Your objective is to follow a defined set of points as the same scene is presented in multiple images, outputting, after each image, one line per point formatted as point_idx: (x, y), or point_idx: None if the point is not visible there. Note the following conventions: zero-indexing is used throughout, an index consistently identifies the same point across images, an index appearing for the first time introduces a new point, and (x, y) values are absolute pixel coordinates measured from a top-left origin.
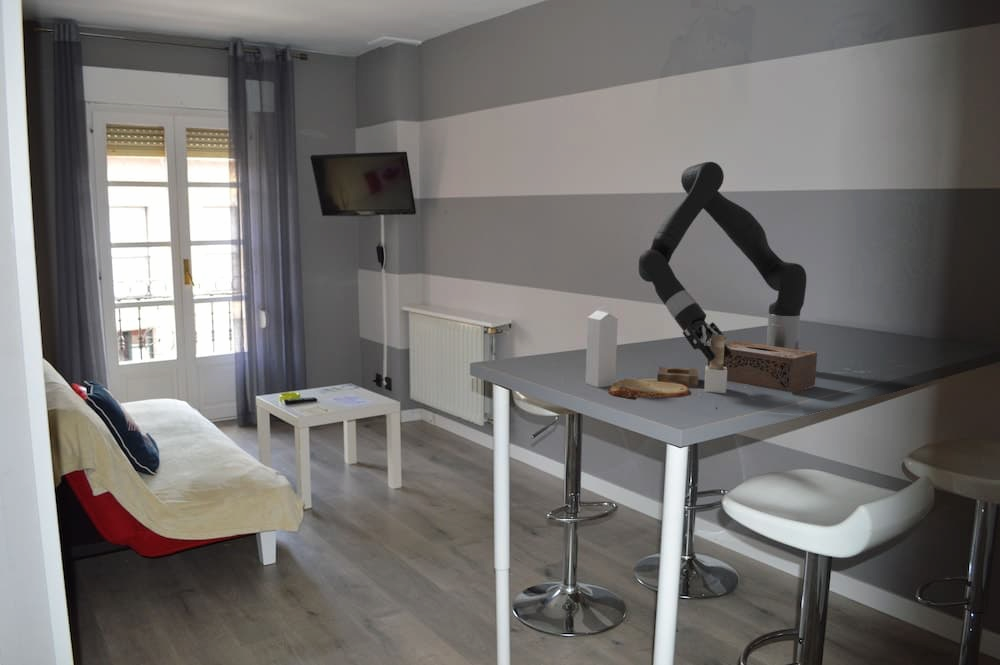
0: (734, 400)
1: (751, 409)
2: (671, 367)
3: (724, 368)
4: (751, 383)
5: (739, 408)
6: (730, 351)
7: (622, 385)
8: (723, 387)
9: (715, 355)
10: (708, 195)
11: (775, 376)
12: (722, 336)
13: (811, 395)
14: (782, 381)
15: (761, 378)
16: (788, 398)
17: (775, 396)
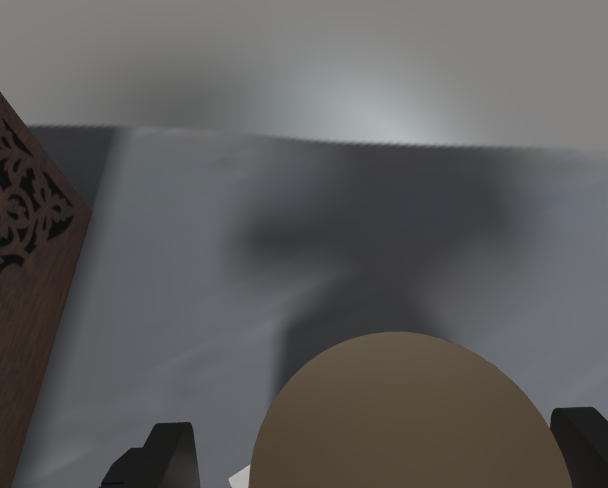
0: (447, 315)
1: (529, 181)
2: None
3: None
4: (14, 430)
5: (567, 219)
6: (162, 427)
7: None
8: None
9: (565, 408)
10: None
11: (24, 247)
12: (441, 343)
13: (63, 152)
14: (50, 221)
15: (9, 348)
16: (191, 181)
17: (192, 231)
